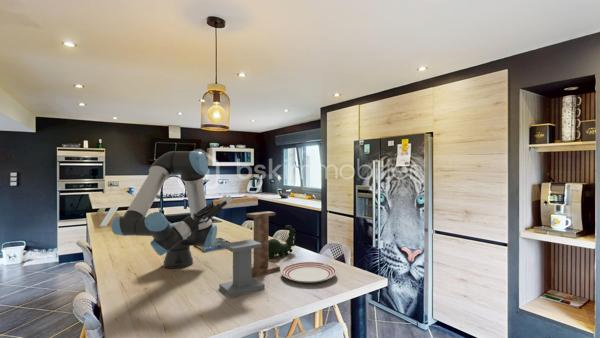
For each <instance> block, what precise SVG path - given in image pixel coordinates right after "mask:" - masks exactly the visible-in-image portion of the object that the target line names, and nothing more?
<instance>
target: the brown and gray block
mask: <svg viewBox="0 0 600 338" xmlns="http://www.w3.org/2000/svg"><path fill="white" fill-rule="evenodd" d="M231 198H232V200H233V201H231V202H230V203H228V204H227V205H226V206H224V207H223V208H222V209H232V208H242V207H251V206H258V205H259V202H258V201H259V197H258V196H244V197H243V196H242V197H231ZM222 200H224V199H220V198H219V199H213V200H212V202H213V207H215V206H216V205H218V203H220V202H221V201H222Z"/></svg>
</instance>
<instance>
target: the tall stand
mask: <svg viewBox="0 0 600 338" xmlns="http://www.w3.org/2000/svg"><path fill="white" fill-rule="evenodd" d="M276 213H277V212H274V211H269V210H268V211H259V212H258V211H257V212H250V213H246V217H247V218H251V219H253V240H254V241H256V242H259V243H262V247H259V248H253V263H251V277H253V278H255V277H258V276H262V275H267V274H271V273H275V272H281V266H280V265H277V264H275V263H273V262H271V261H269V257H268V241H269V236H270V235H269V230H270V229H269V227H270V225H269V223H270V222H269V220H270V219H269V217H271V216H272V217H274V216H276Z"/></svg>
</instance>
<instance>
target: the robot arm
mask: <svg viewBox="0 0 600 338" xmlns="http://www.w3.org/2000/svg"><path fill="white" fill-rule="evenodd" d="M208 163H209V162H208V159H207V157H206V155H205V154H204V153H203V152H202V151H197V150H196V151H195V150H192V151H191V150H190V151H189V150H188V151H187V150H186V151H185V150H184V151H183V150H182V151H179V150H178V151H176V150H173V151H167V152H166V153H164V154H162V155H161V156H159V157H158V158H157V159H156V160H155V161H154V162H153V163H152V164H151V166H150V167H149V169H148V175H147V177H146V179H145V180H144V181H143V183H142V184H141V187H140V188H139V190H138V192H137V193H136V195H135V197H134V198H133V200H132V201H131V203H130V205H129V207H127V210H126V211H125V213H124V215H123V216H122V215H121V216H116V217H114V219H113V220H112V222H111V226H110V227H111V231H112V233H113V234H114V235H115V236H122V237H123V236H124V237H125V236H129V237H130V236H139V237H141V236H142V237H152V238H153V239H152V240H151V241H150V246H151V247H152V249H153V250H154V252H155V253H156V254H157V255H158V256H163V255H164V254H165V257H164V259H163V267H164V268H166V269H181V268H182V269H183V268H186V267H189V266H192V265H193V263H194V258H193V256H192V252H191V250H190V249H191V248H190V247H191V246H192V247H211V246H213V245H214V243H215V242H216V239H217V235H218V234H217V233H218V227H217V224H213V221H212V218H213V217H215V216H216V215H218V214H219V213H220V212H222V211H223V209H224V208H223V207H224V206H226V205H227V204H228V203H230V202H231V201H233V200H232V198H233V197H232V196H231V195H228V196H227V195H226V194H225V195H223V196H221V197H219V199H224V200H222V201H221V202H220V203H218V205H216V206H215V207H213V201H211V203H209V204H207V201H206V200H207V199H206V194H205V188H204V182H203V181H204V180H203V179H204V178H205V176H206V174H207V173H208V170H209V169H208V166H209V164H208ZM172 175H179V176H180V179H181V180H180V181H182V182H184V184H185V190H186V196H187V201H188V206H189V213H190V215H187V216H186V217H185V218H183V219H182V220H181V221H177V222H176V221H175V222H173V223H169V221H168V219H167V218H166V216H165V215H164V214H163V213H162V212H161V211H154V212H151V213H148V212H149V210H150V209H151V207H152V205H153V203H154V201H155V199H156V198H157V196H158V194H159V193H160V191H161V188H162V187H163V185H164V183H165V181H168V180H169V178H170V177H171V176H172ZM222 208H223V209H222Z"/></svg>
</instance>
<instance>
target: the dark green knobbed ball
mask: <svg viewBox="0 0 600 338" xmlns="http://www.w3.org/2000/svg"><path fill="white" fill-rule="evenodd" d="M287 229H288V236H287V240H286V241H285V243H282V242H280V241H279V240H278V239H276V238H271V239H268V259H269V258H270V259H274V258H275V256H276V255H279V256H280V257H283V256H284V255H285V256H288V255H289V253H292V252H293V249H292V247H295V246H296V244H295V243H294V241H296V238H295V237H296V236H297V234H296V233H295V232H296V231H297V230H296V229H295V228H293V227H292V225H290V224H287V225H285V227H284V230H287Z"/></svg>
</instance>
